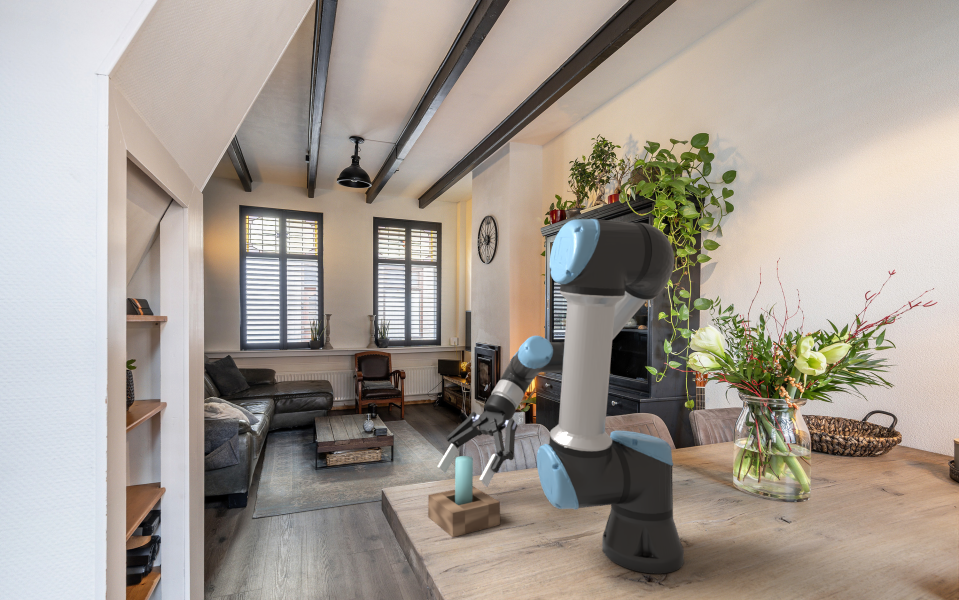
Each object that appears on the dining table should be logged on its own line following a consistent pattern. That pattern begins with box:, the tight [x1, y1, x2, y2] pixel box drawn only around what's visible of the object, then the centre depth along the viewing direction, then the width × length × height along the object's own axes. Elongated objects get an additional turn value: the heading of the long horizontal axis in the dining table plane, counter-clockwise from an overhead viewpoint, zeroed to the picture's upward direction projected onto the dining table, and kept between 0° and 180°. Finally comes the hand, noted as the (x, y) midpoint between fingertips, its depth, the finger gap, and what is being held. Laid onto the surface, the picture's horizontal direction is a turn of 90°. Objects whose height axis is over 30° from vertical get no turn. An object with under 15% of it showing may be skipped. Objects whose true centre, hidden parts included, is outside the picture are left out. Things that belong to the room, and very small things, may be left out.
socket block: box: [427, 486, 501, 538], centre depth 105 cm, size 12×12×5 cm
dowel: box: [454, 455, 474, 505], centre depth 106 cm, size 4×4×14 cm
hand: (461, 476), depth 105 cm, fingers open, 13 cm apart
